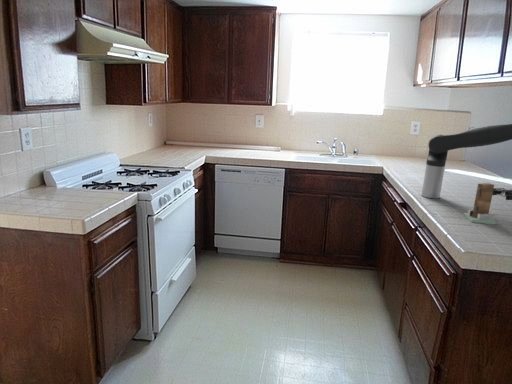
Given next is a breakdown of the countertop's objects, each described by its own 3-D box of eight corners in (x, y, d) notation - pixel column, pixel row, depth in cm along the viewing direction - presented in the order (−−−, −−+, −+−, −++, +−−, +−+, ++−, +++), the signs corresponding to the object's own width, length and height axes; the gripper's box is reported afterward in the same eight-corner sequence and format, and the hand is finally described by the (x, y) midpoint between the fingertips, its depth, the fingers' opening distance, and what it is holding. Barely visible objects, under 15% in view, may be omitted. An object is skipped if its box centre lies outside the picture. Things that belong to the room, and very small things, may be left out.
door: (470, 216, 179) (476, 183, 175) (482, 215, 181) (488, 183, 178) (475, 218, 176) (482, 185, 173) (487, 217, 179) (494, 184, 175)
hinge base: (463, 214, 185) (465, 207, 185) (488, 217, 183) (489, 209, 183) (470, 222, 175) (472, 213, 174) (496, 224, 173) (498, 216, 172)
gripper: (513, 182, 189) (486, 183, 185) (542, 189, 176) (514, 190, 171) (510, 197, 191) (483, 199, 186) (538, 206, 178) (510, 207, 173)
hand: (498, 195), depth 179 cm, fingers open, 8 cm apart
